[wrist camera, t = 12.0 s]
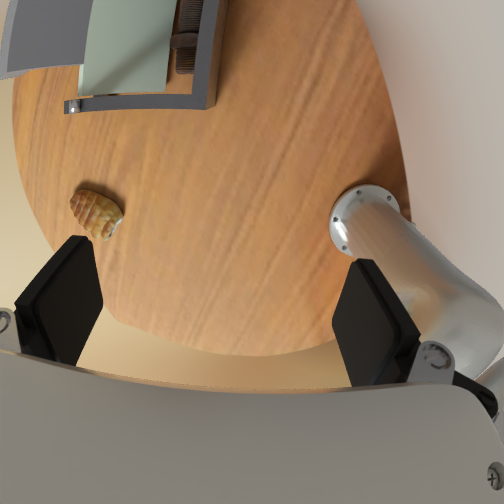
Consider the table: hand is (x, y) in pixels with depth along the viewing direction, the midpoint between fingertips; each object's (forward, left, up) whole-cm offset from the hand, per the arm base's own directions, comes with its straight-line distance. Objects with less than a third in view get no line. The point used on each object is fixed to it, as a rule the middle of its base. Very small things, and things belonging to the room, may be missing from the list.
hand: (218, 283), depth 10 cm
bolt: (+9, -16, -29) cm, 34 cm away
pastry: (+21, +13, -34) cm, 42 cm away
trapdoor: (+21, -15, -26) cm, 37 cm away
